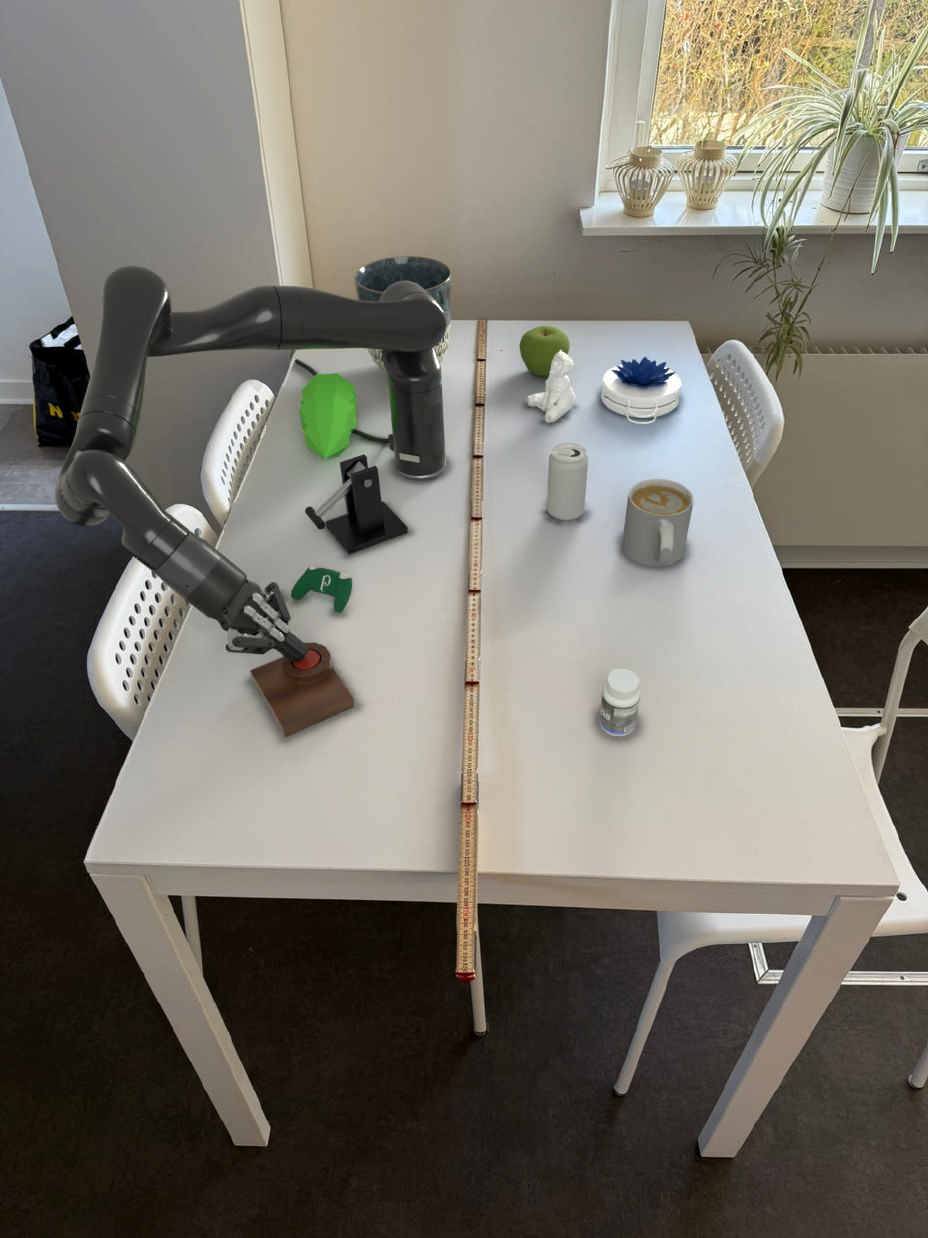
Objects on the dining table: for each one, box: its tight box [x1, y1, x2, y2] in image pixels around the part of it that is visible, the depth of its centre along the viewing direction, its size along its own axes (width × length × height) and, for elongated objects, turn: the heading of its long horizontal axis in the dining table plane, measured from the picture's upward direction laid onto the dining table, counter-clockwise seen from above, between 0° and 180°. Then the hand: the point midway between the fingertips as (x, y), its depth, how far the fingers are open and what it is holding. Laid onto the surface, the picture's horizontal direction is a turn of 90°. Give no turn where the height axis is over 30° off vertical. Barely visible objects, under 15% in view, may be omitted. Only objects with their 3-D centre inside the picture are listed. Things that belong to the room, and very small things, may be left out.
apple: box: [519, 325, 571, 378], centre depth 182 cm, size 11×10×10 cm
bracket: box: [325, 454, 409, 555], centre depth 141 cm, size 11×9×13 cm
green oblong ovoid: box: [298, 372, 358, 460], centre depth 162 cm, size 11×12×30 cm
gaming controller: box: [290, 563, 353, 614], centre depth 132 cm, size 9×4×6 cm
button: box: [293, 650, 320, 670], centre depth 118 cm, size 4×4×2 cm
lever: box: [304, 462, 366, 530], centre depth 138 cm, size 12×5×2 cm
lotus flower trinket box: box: [600, 356, 682, 425], centre depth 172 cm, size 7×16×20 cm
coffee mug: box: [621, 478, 694, 568], centre depth 135 cm, size 13×10×10 cm
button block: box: [249, 642, 355, 738], centre depth 117 cm, size 12×10×4 cm
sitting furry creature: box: [526, 350, 577, 424], centre depth 169 cm, size 10×9×12 cm
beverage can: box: [546, 442, 589, 521], centre depth 143 cm, size 6×6×12 cm
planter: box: [353, 255, 453, 374], centre depth 179 cm, size 20×20×21 cm
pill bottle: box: [598, 668, 641, 737], centre depth 110 cm, size 5×5×8 cm
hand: (303, 656), depth 117 cm, fingers closed
